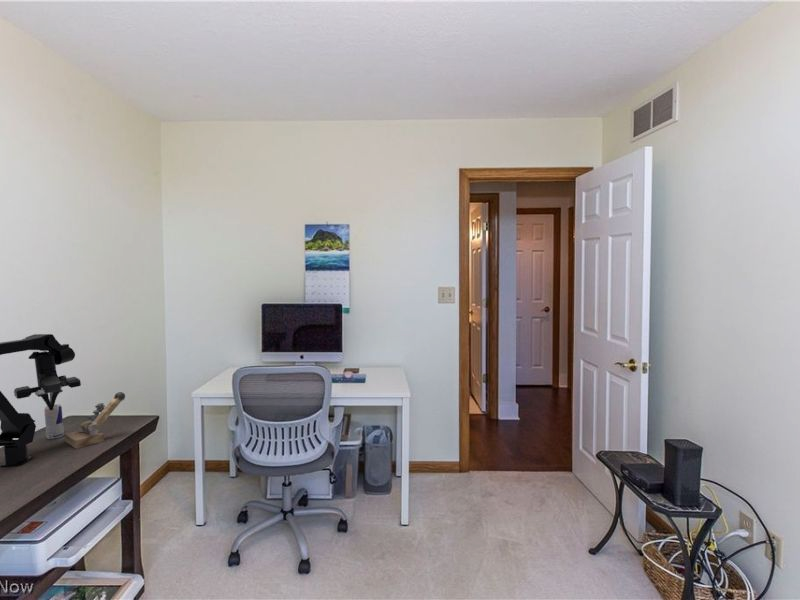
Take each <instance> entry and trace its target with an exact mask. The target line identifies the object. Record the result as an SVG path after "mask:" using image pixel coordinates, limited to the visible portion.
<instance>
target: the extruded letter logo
mask: <svg viewBox="0 0 800 600" xmlns="http://www.w3.org/2000/svg"><path fill="white" fill-rule="evenodd" d="M105 407H106V406H105V404H104V403H101V402H100V403H97V404H96V405H95V408H96V410H93V411H92V414H91V415H88V416H87V420H86V421H87V422H91V421H92V422H93V421H94V420H95V419H96V418H97V416H98V415H99V414H100V413H101V412H102V411H103V409H104V408H105Z"/></svg>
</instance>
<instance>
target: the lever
mask: <svg viewBox="0 0 800 600" xmlns="http://www.w3.org/2000/svg"><path fill="white" fill-rule="evenodd" d="M125 399H126V395H125V393H124V392H122V391H119V392H116V393H115V394H114V396H113V398H112V399H111V400H110V401H109V402H108V404H106V406H105V407H104V409H103V411H102V412H99V415H98V416H97V418H96V419H95V420H94V421H93V422H92V423H91V425H93V424H97V429H99V428H100V427H101V426H102V425H103V423H104V422H105V421H106V420H107V419H108V418H109V417H110V416H111V414H112V413H113V412H114V411H115V409H116V408H117V407H118V406H119V404H120V403H121V402H123V401H124V400H125ZM87 431H89V427H88V429H87Z"/></svg>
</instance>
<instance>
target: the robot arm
mask: <svg viewBox="0 0 800 600" xmlns="http://www.w3.org/2000/svg"><path fill="white" fill-rule="evenodd" d="M26 351H32V353H31V354H30V355H29V356H28V359H29V360H34V364H35V365H34V366H35V372H36V380H37V381H36V382H37V386H34V387H30V386H29V385H25V386H20V387H15V388H14V390H13V394H14V397H15V399H17V400H19V399H25V398H29V397H30V396H31V395H32V394H35V396H37V397H38V398H40V397H41V398H42V399H41V400H43V402H44V403H45V404H46V407H47V406H48V408H49V410H53V408H54V405H56V400H57V397H58V395H59V394H61V393H63V391H64V390H63V389H62V388H63V387H69V388H73V389H74V388H77V387H81V385H82V382H81V380H80V378H78V377H76V376H71V377H67V376H66V374H65V375H60V376H59V375H58V373H57V367H56V366H58V365H59V366H60V365H61V364H66V363H68V362H72V361H73V360H74V359H75V357H76V353H75V351H74V350H73V348H71V347H70V344H69V343H63V344H61V343H60V342H59V341H58V340H57V339H56V337H55V336H54V334H51V333H50V334H49V333H39V334H36V333H34V334H31V335H29V336H26V337H24V338H22V339H16V340H10V341H9V340H8V341H2V342H0V356H2V355H7V354H13V353H20V352H26ZM35 422H36V420H35V419H33V417H32V416H31V414H30V413H29V412H26V413H25V412H18V411H17V410H16V408H15V407H14V406H13V404H12V403H11V402H10V401H9V400H8V398H7V397H6V396H5V395H4V394H3V392H2V391H1V390H0V430H1V432H0V447H3V449H4V450H3V451H4V460H5V461H4V462H3V463H2V464H0V466H3V467H12V466H21V465H23V464H26V463H27V462H28V461H30V460H31V459H32V458H34V456H33V455H28V454H29V453H28V452H29V451H28V445H29V444H31V443H33V441H34V436H35V432H36V428H37V425H36V423H35Z"/></svg>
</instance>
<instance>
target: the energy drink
mask: <svg viewBox="0 0 800 600" xmlns="http://www.w3.org/2000/svg"><path fill="white" fill-rule="evenodd" d="M43 411H44V420H45V434H46V439H48V440H54V439H55V438H56V439H60V438H62V437H64V436H65V432H64V421H63V419H64V418H63V409H62V405H61V404H54V408H53V410H49V408H48V406H47V405H46V406H45V407H44V410H43Z"/></svg>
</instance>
